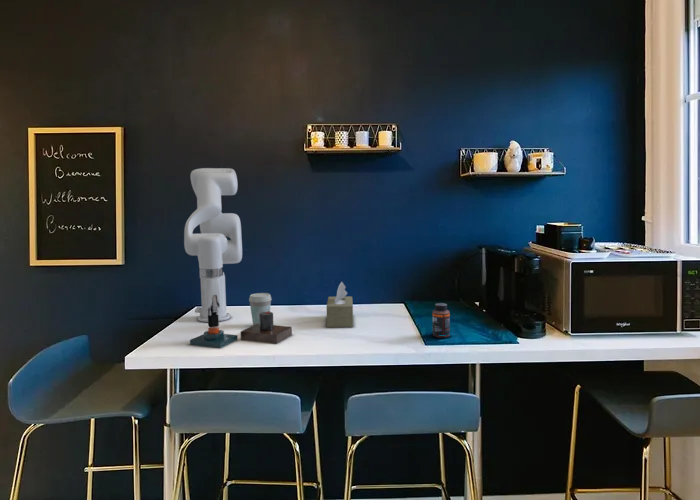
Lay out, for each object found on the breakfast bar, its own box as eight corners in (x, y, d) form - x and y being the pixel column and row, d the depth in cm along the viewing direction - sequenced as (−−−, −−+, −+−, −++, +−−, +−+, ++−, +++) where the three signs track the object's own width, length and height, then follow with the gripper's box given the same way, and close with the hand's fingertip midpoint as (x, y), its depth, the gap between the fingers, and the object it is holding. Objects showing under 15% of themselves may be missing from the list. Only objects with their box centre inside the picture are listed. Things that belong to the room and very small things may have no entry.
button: (206, 334, 169) (205, 329, 169) (212, 331, 172) (212, 326, 172) (215, 335, 168) (214, 330, 168) (221, 332, 171) (221, 327, 171)
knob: (269, 331, 172) (268, 314, 172) (257, 330, 174) (256, 313, 173) (276, 327, 177) (275, 311, 176) (264, 326, 178) (263, 310, 178)
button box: (189, 344, 168) (189, 334, 168) (208, 336, 177) (208, 327, 177) (220, 348, 164) (219, 337, 163) (237, 340, 173) (237, 330, 173)
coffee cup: (253, 330, 186) (252, 298, 184) (246, 324, 193) (245, 294, 192) (275, 327, 190) (274, 295, 188) (268, 322, 197) (267, 291, 196)
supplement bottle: (450, 334, 177) (451, 302, 176) (448, 339, 171) (448, 306, 170) (433, 333, 179) (434, 301, 178) (430, 337, 173) (431, 305, 172)
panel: (240, 339, 173) (240, 331, 173) (257, 331, 183) (257, 323, 183) (276, 343, 168) (276, 334, 168) (292, 335, 178) (291, 326, 178)
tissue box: (353, 327, 188) (352, 285, 186) (326, 327, 188) (326, 286, 186) (352, 315, 206) (352, 277, 205) (328, 315, 206) (328, 277, 205)
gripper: (196, 270, 173) (198, 322, 176) (203, 277, 160) (205, 333, 162) (218, 268, 176) (220, 319, 179) (226, 275, 163) (228, 330, 165)
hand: (213, 326), depth 170 cm, fingers closed
